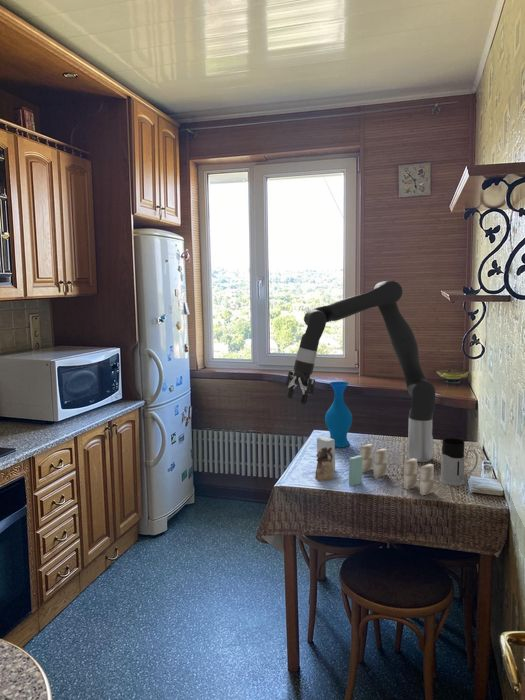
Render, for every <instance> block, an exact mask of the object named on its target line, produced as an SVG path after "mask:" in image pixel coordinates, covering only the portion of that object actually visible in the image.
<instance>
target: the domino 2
mask: <svg viewBox="0 0 525 700" xmlns="http://www.w3.org/2000/svg"><path fill="white" fill-rule="evenodd" d="M373 446H374V445H373V444H371V443H368V444H363V445H360V449H359V450H360V451H359V453H360V454H359V455H360V456H362V473H367V472H369V471H372V470H373V454H374V452H373V451H374V450H373V449H374V448H373Z"/></svg>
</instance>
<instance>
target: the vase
mask: <svg viewBox="0 0 525 700" xmlns="http://www.w3.org/2000/svg"><path fill="white" fill-rule="evenodd" d="M329 385H330V386H331V388H332V389H333V392H334V393H333V394H334V399H333V402H332V403H331V406H330V407H329V408H328V410H327V411H326V413H325V417H324V422H325V425H326V428H327V429H328V431H329V435H330V436H329V438H331V439H334V440H335V448H346V447H349V446H350V441H349V440H348V433H349V431H350V429H351V427H352V425H353V424H352V423H353V414H352V412H351V411H350V409H349V408H348V406H347V405H346V403H345V399H344V392H345V389H346V388H347V386H349V382H347V381H331V382H329Z"/></svg>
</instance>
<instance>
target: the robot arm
mask: <svg viewBox="0 0 525 700" xmlns="http://www.w3.org/2000/svg"><path fill="white" fill-rule="evenodd" d="M402 296H403V288H402V286H401V284H400V283H399V282H397V281H394V280H385V281H379V282H378V283H376V284H375V286H374V287H373V289H372V290H369V291H367V292H364V293H361V294H357V295H354V296H350V297H349V296H348V297H346V298H343V299H340V300H337V301H334V302H333V303H330V304H327V305H322V306H319V307H316V308H312V309H309V310H308V311H306V313H305V314H304V316H303V321H304V324H305V325H306V326H307V327H306V329H305V332H304V333H303V334H302V335H301V338H300V342H299V347H298V351H297V352H296V356H295V361H294V365H293V370H290V371H288V374H287V378H286V380H285V386H287V388H288V389H287V394H286V397H287V399H292V398H293V397H294V392H295V388H296V387H297V386H298V387H300V389H301V391H302V394H301V398H300V401H299V403H300V404H301V405H306V404H307V402H308V397H309V395H311V396H312V395H313V393H314V389H315V383H316V379H315V378H311V376H312V375H313V373H314V368H315V363H316V360H317V353H318V348H319V344H320V339H321V337H322V336H323V333H324V331H325V329H326V325H327V323H329V322H338V321H341V320H342V319H345V318H348V317H350V316H354V315H356V314H358V313H361V312H363V311H366V310H369V309H371V308H372V309H373V308H375V307H377V308H378V310H379V311H380V314H381V316H382V318H383V321H384V324H385V327H386V330H387V333H388V337H389V339H390V343H391V345H392V347H393V351H394V353H395V356H396V358H397V361H398V363H399V365H400V367H401V370H402V372H403V375H404V381H405V384H406V388H407V389H406V390H407V392H408V394H409V396H410V398H411V406H410V410H409V412H408V435H407V436H408V438H407V460H409V459H413V458H414V459H417V463H427V462H428V463H429V462H431V461H432V459H433V451H434V450H433V449H434V448H433V446H434V436H433V416H434V414H435V409H436V408H435V404H436V389H435V386H434V385H433V383H432V382H430V381H428V380H427V378H426V376H425V375H424V372H423V370H422V367H421V363H420V355H419V354H420V353H419V347H418V344H417V340H416V337H415V334H414V332H413V330H412V328H411V327H410V325H409V324H408V322H407V321H406V320H405V318H404V317H403V315H402V313H401V312H400V309H399V307H398V304H397V302H398V301H400V299H401V298H402Z"/></svg>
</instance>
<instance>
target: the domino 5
mask: <svg viewBox="0 0 525 700" xmlns="http://www.w3.org/2000/svg"><path fill="white" fill-rule="evenodd" d="M434 466H435V465H434V464H432V463H428V464H425V465H422V466H420V481H419V482H420V483H419V495H420V494H422V495H426V494H428V493H431V492H434V471H435V470H434V468H435V467H434ZM431 494H432V493H431ZM422 495H421V496H422ZM428 495H429V494H428ZM426 496H427V495H426Z"/></svg>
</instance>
